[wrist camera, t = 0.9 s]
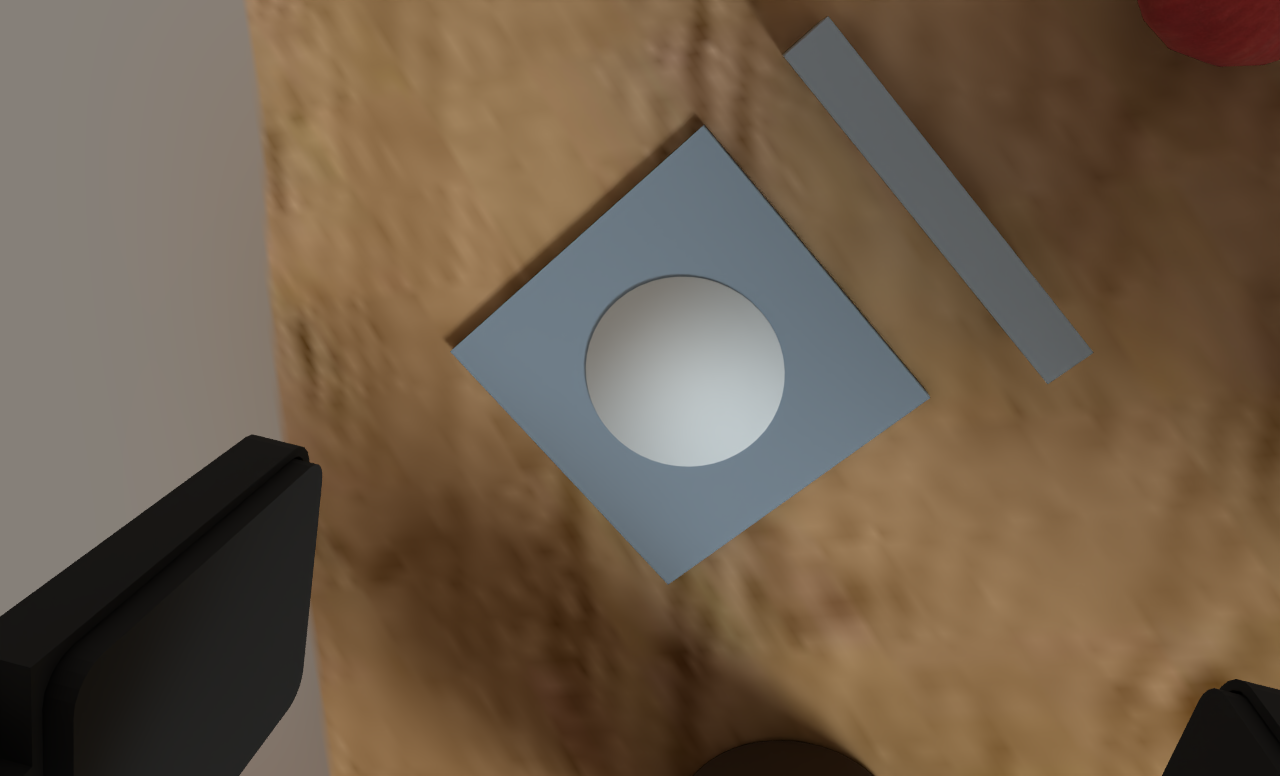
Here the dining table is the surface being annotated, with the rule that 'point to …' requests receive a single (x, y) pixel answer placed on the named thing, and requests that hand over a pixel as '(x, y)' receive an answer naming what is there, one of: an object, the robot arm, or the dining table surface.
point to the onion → (1217, 29)
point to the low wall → (936, 199)
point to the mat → (689, 361)
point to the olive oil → (781, 761)
